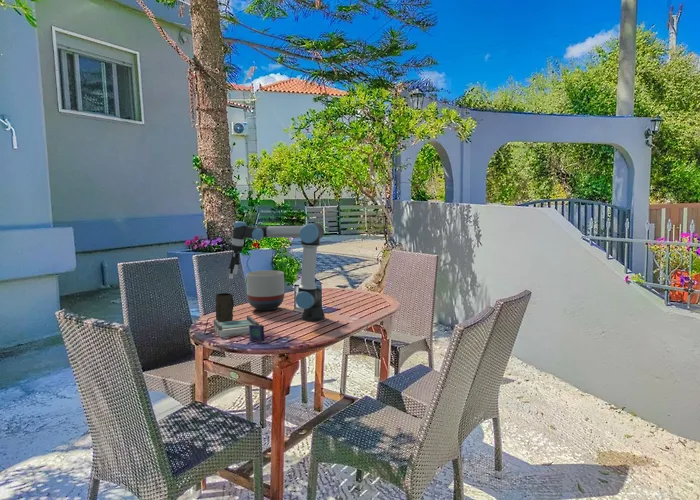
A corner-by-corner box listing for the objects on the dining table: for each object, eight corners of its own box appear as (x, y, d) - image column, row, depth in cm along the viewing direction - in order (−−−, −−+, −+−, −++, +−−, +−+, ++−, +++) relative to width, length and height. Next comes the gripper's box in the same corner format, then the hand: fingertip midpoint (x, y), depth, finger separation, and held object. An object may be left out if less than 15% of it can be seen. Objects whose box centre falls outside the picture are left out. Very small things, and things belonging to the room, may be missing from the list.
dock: (257, 332, 292) (256, 322, 291) (220, 337, 282) (219, 326, 281) (249, 325, 310) (248, 315, 309) (213, 329, 300) (213, 319, 299)
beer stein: (228, 326, 306) (228, 295, 305) (212, 325, 308) (212, 294, 307) (238, 322, 321) (238, 292, 320) (223, 321, 323) (223, 291, 322)
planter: (274, 315, 336) (273, 276, 333) (240, 312, 345) (239, 275, 342) (290, 306, 361) (290, 271, 359) (259, 304, 370) (258, 269, 367)
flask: (248, 340, 276) (248, 321, 275) (251, 338, 279) (250, 320, 278) (263, 341, 274) (262, 323, 273) (265, 340, 276) (265, 321, 275)
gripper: (235, 241, 329) (231, 271, 333) (227, 246, 305) (223, 279, 308) (246, 243, 330) (242, 273, 333) (239, 248, 305) (234, 281, 308)
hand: (232, 276), depth 320 cm, fingers open, 13 cm apart
